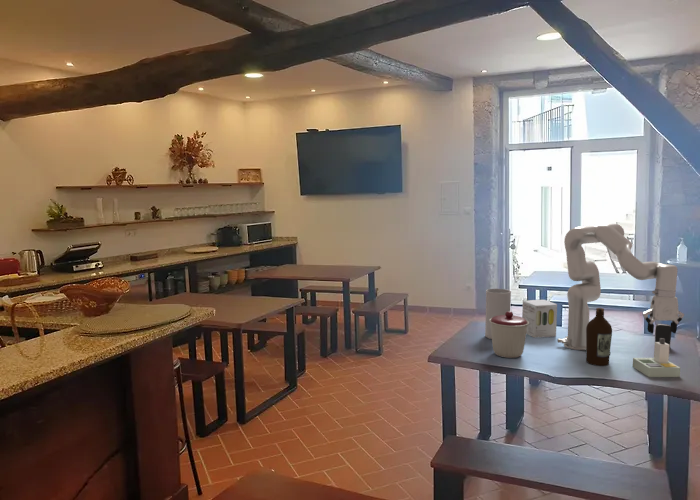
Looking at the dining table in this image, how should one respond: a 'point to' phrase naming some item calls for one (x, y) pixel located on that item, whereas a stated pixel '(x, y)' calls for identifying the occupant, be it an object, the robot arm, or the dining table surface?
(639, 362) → the socket block
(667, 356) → the plug
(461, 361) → the dining table surface
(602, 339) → the olive oil
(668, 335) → the battery charger
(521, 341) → the canister
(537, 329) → the supplement box
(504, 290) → the cylinder vase
